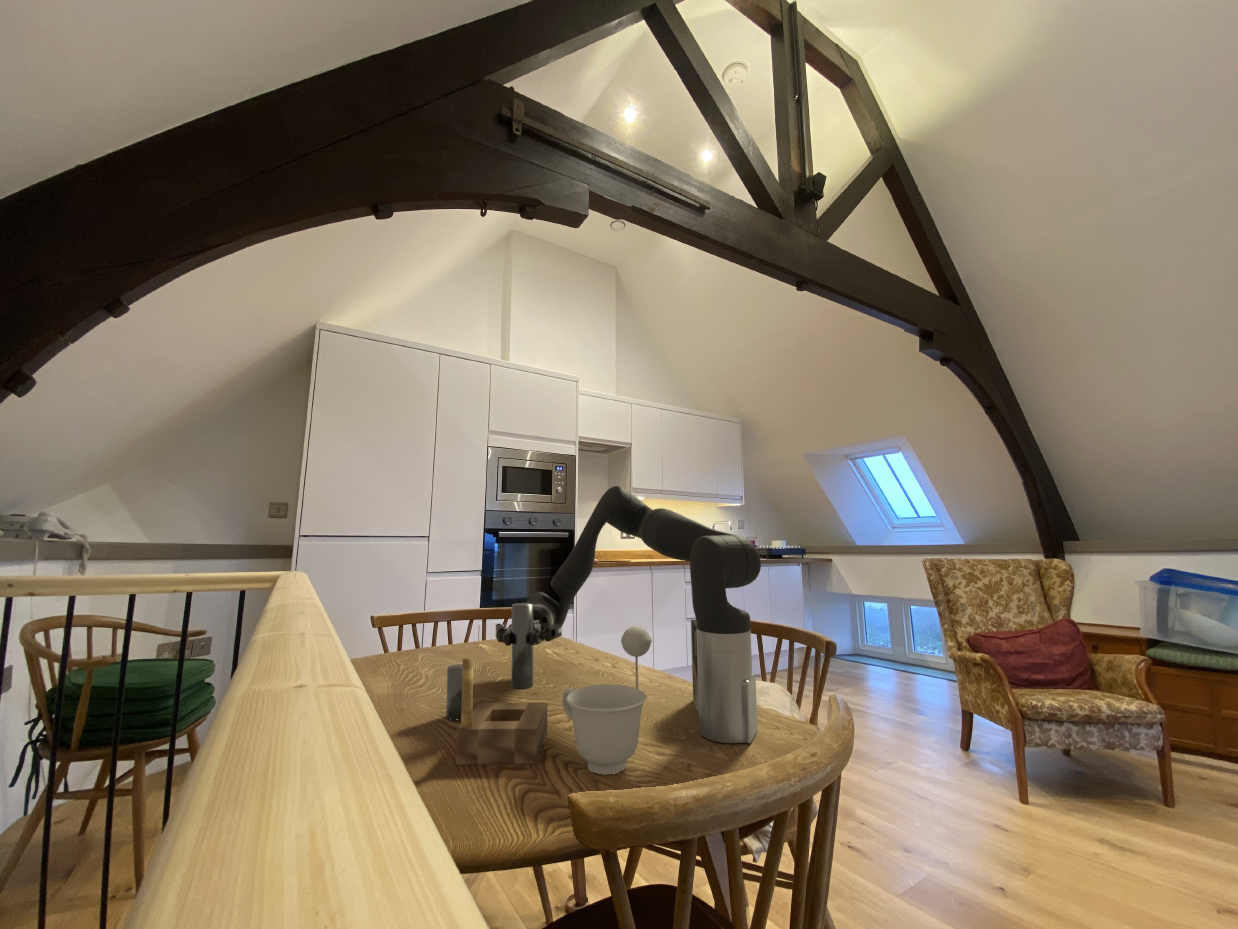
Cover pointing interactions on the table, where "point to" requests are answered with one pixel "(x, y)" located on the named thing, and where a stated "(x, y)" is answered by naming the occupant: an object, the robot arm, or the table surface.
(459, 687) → the short pin
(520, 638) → the long pin
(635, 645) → the lollipop
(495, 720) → the hole block
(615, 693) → the teacup
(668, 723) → the table surface
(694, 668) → the coffee box
